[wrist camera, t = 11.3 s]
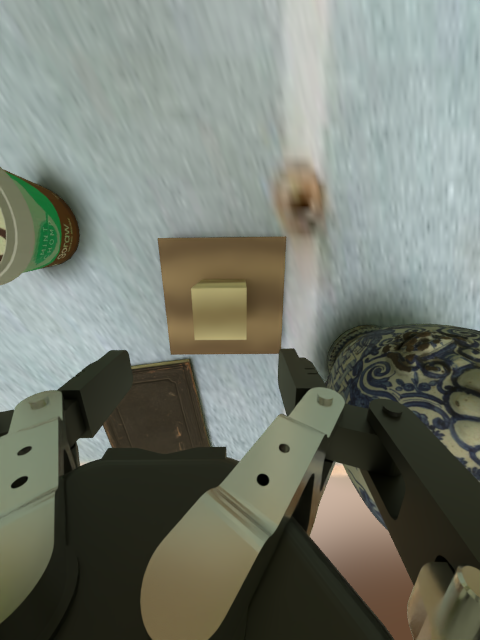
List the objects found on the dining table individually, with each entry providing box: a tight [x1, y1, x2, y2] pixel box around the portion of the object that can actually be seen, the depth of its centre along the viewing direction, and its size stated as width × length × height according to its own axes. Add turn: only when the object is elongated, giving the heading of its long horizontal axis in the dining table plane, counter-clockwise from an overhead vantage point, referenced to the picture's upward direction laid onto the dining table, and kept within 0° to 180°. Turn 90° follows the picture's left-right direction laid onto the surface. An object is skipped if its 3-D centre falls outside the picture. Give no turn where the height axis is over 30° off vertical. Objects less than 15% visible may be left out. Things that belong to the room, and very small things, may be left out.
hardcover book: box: [103, 359, 210, 454], centre depth 37 cm, size 16×23×2 cm
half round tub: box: [0, 167, 80, 285], centre depth 24 cm, size 12×6×10 cm, turn 168°
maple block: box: [191, 279, 247, 340], centre depth 24 cm, size 5×5×6 cm
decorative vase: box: [325, 324, 480, 530], centre depth 20 cm, size 21×19×28 cm
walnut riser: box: [158, 237, 286, 355], centre depth 29 cm, size 14×14×4 cm
